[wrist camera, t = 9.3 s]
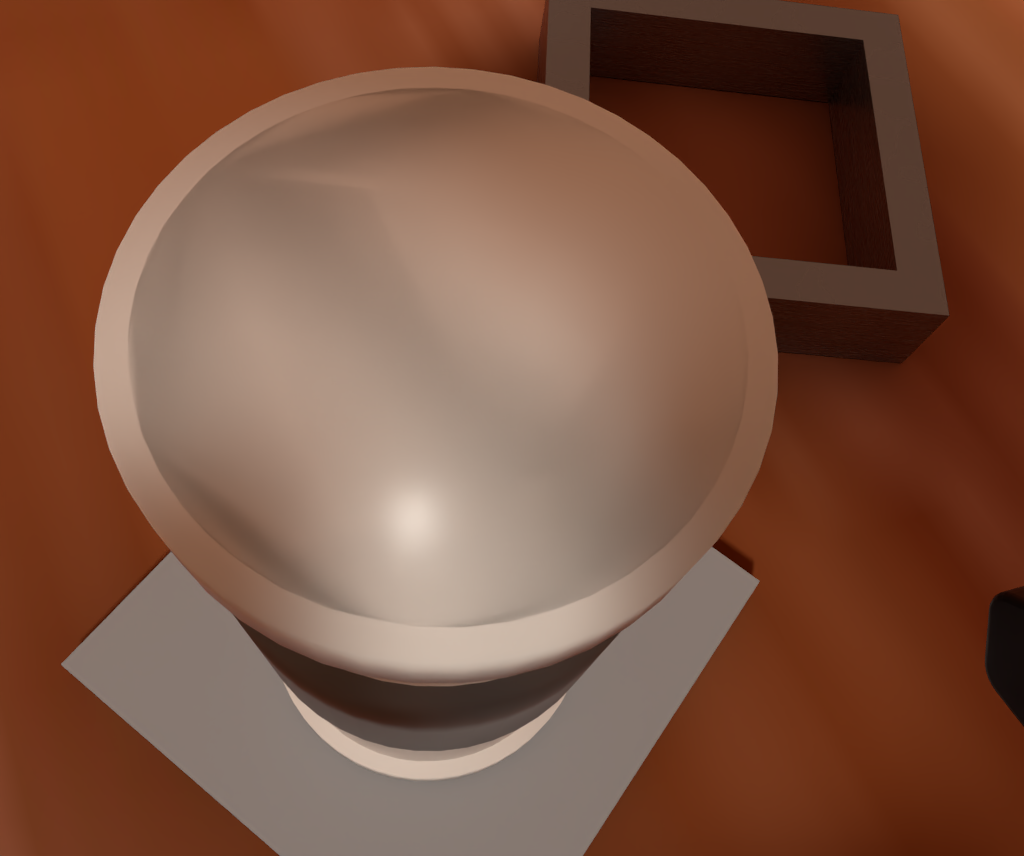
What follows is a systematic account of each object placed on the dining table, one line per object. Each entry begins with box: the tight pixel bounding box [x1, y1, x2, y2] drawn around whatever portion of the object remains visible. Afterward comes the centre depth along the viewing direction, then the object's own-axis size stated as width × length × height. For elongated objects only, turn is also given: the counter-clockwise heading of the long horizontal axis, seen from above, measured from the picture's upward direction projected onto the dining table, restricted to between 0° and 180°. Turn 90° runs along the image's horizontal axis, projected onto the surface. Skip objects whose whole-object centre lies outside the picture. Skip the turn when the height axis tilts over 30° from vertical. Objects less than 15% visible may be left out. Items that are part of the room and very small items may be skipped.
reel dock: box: [537, 0, 949, 363], centre depth 27 cm, size 10×10×2 cm
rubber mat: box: [61, 547, 759, 856], centre depth 21 cm, size 11×11×1 cm
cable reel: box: [93, 67, 778, 781], centre depth 15 cm, size 7×7×13 cm
